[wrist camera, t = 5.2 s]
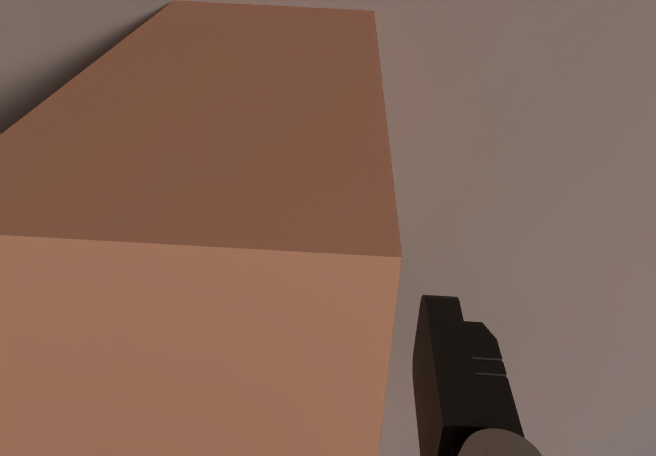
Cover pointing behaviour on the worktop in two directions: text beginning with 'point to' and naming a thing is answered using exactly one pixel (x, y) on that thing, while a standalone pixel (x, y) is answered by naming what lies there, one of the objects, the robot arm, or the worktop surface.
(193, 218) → the rust book
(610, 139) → the worktop surface
